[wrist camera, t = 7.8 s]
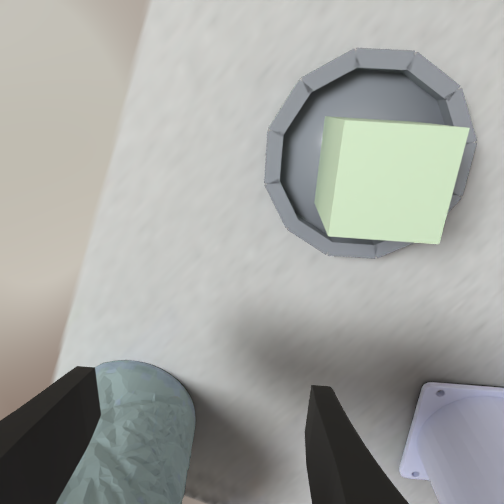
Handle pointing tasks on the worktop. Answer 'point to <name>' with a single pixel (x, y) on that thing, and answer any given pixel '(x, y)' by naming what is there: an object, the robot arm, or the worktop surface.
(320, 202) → the block
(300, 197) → the dish
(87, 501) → the teal plant pot
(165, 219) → the worktop surface
